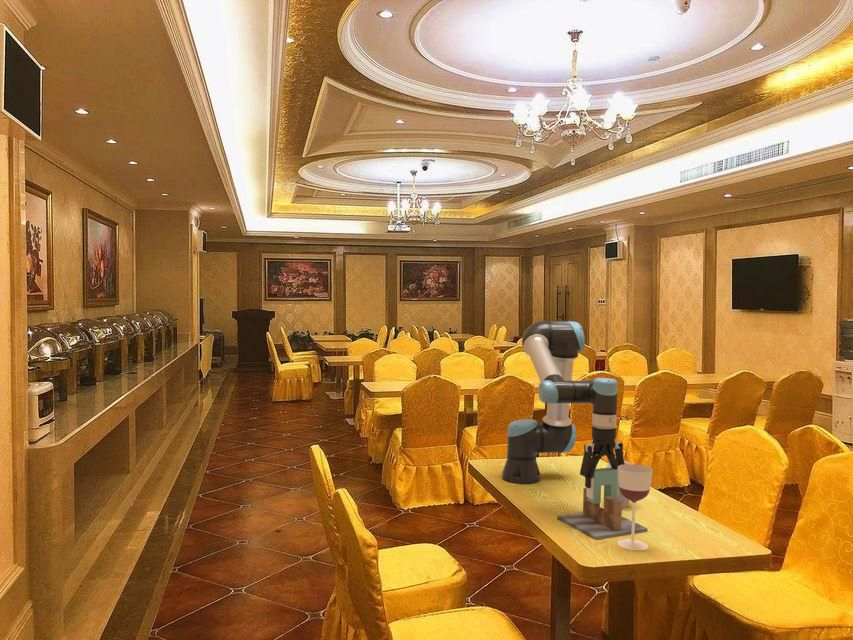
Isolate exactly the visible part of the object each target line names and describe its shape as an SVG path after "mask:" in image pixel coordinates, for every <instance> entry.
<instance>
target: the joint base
mask: <svg viewBox="0 0 853 640" xmlns="http://www.w3.org/2000/svg"><path fill="white" fill-rule="evenodd" d="M582 492H583V496H582V497H583V499H582V512H581V511H580V512H575V513H574V512H573V513H568V514H561V515H559V514H558V515H557V516H556V517H557V520H559V521H561V522H562V523H565V524H566V525H568V526H570V527H571V528H573V529H575V530H577V531H579V532H581V533H583V534H584V535H586V536H588V537H590V538H591V539H593V540H595V541H596V540H597V541H598V540H599V541H600V540H603V539H610V538H617V537H622V536H623V537H624V536H628V535H631V532H632V519H629V518H626V517H624V516H622V515H623V514H622V513H623V512H622V511H623V510H622V509H623V508H622V501H620V500H618V499H616V498H613V497H611V496H608V497H604V496H603V507H601V503H596V504H594V503H592V502H590V501H587V498H588V497H586V492H587V487H583V491H582ZM646 532H648V528H647V527H646V526H643V525H641V524H639V523H637V522H635V534H641V533H646Z"/></svg>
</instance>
